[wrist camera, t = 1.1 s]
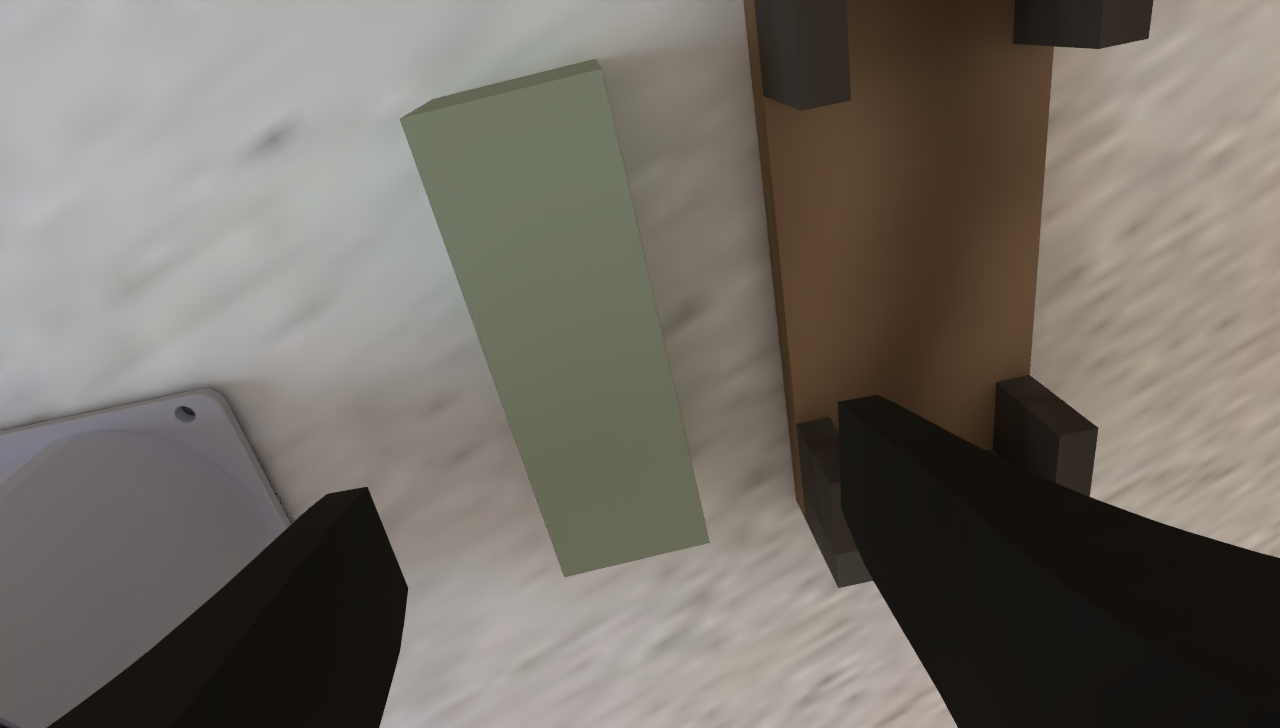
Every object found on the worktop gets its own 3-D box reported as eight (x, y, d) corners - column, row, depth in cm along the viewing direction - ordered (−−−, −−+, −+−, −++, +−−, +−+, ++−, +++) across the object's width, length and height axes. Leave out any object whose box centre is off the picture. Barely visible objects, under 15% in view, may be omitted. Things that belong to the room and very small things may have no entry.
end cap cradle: (796, 500, 23) (838, 587, 20) (735, -76, 16) (785, -104, 12) (1004, 456, 23) (1084, 535, 20) (1039, -139, 16) (1177, -185, 12)
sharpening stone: (564, 488, 23) (564, 577, 19) (434, 98, 17) (399, 119, 14) (686, 459, 22) (709, 542, 19) (594, 58, 17) (601, 69, 14)
